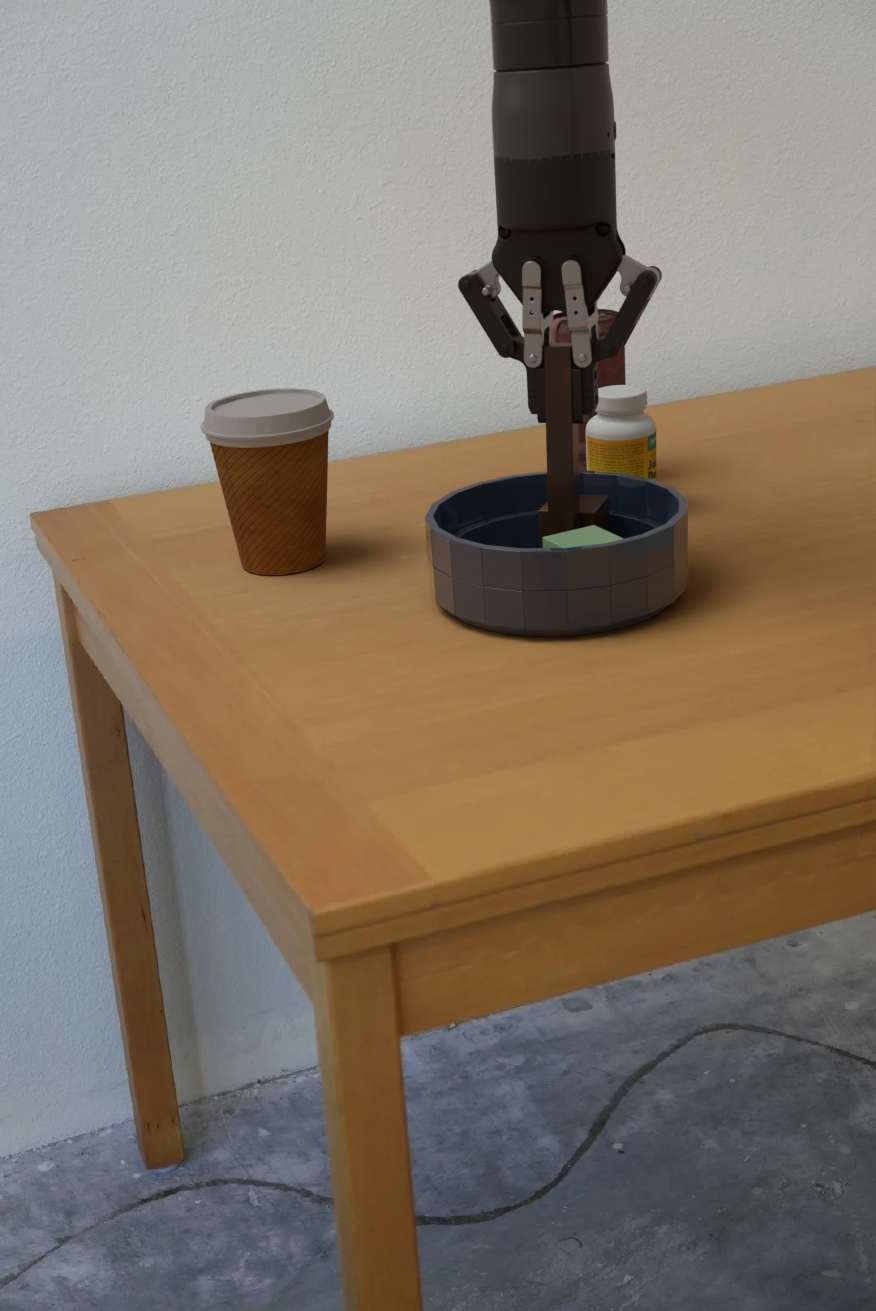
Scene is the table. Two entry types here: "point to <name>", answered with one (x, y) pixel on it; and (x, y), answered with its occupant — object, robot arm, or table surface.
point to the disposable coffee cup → (273, 475)
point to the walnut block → (581, 514)
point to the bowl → (556, 556)
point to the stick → (561, 440)
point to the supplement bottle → (622, 433)
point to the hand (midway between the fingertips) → (564, 419)
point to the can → (608, 368)
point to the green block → (579, 538)
